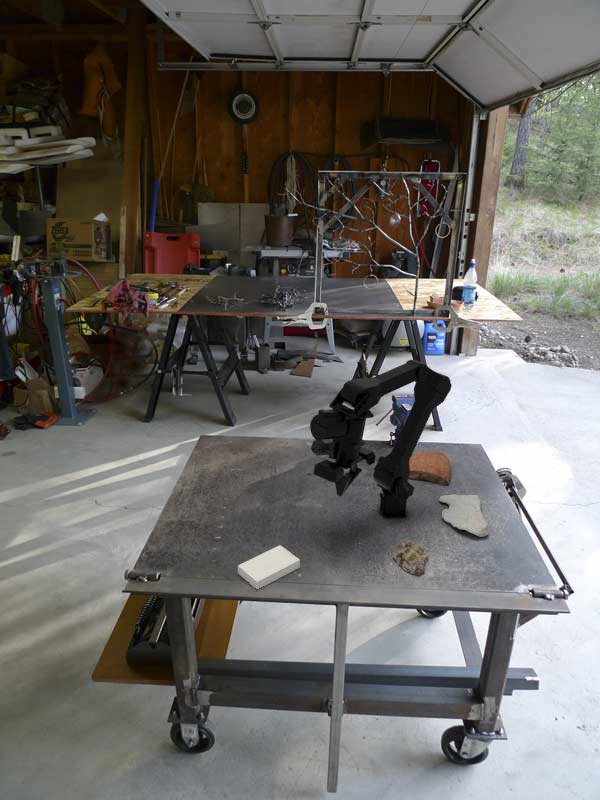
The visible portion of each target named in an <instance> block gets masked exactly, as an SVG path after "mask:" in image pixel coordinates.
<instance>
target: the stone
mask: <svg viewBox="0 0 600 800" xmlns="http://www.w3.org/2000/svg"><path fill="white" fill-rule="evenodd" d="M438 502H441V503H445V504H447V505H448V508H445V509H443V510H442V511H441V512H442V513H441V519H442V520H443V521H444V522H446V523H448V524H451V525H452V527H453V528H457V529H458V530H464V531H467V532H468V533H471V534H473V535H475V536H477V537H479V538H480V537H486V536H488V535H489V531H488V529H489V526H488V525H489V524H488V521H487V520H486V519H485V517H484V514H483V511H482V504H483V503H482V501H481V500H480V498H479V496H478V495H477V494H461V495H460V494H456V493H455V494H453V493H452V494H448V495H441V496H440V497H439V498H438Z"/></svg>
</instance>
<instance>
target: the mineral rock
mask: <svg viewBox="0 0 600 800" xmlns="http://www.w3.org/2000/svg"><path fill="white" fill-rule="evenodd" d="M392 559H394V561H395V562H396V564H397V565H398V566H399V567H400V568H401V569H402V570H403V571H404V572H406V573H407V572H408V573H410V574H411V575H416V574H417V575H416V576H418V577H419V576H420V575H421V574H423V573H424V572H425V571H426V569H425V563H427V562H428V560H429V557H428V555H427V554H426V553H425V550H424V548H422V547H421V546H419V545H417V544H416V543H415V542H414V541H412V540H409V539H408V540H406V541H405V542H402V543H400V544H399V545H398V547H396V548H395V551H393V553H392Z"/></svg>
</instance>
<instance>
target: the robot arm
mask: <svg viewBox="0 0 600 800" xmlns="http://www.w3.org/2000/svg"><path fill="white" fill-rule="evenodd" d="M451 381H452V380H451V378H450V377H449V376H447V375H445V374H443V373H440V372H437V371H435V370H433V369H432V368H430V367H429V366H428V365H427V364H426V363H424V362H421V361H418V360H416V359H409V360H407V361H406V362H405V363H403V364H401V365H399V366H397V367H393V368H392V369H389V370H386V371H385V372H382V373H381V374H378V375H376V376H373V377H367V378H366V377H361V378H354V379H350V380H348V381H346V382H345V383H343V386H342V388H340V390H339V392H337V394H336V396H335V397H334V398H333V400H332V401H330V402H331V403H330V404H329V406H328V407H329V408H330V409H319V410H318V413H317V414H316V415H314V416H313V417H312V419H311V420H310V423H309V427H310V429H309V430H310V434H311V436H312V437H313V438H314V440H313V441H312V444H311V447H310V450H311V452H312V454H314V455H315V456H318V457H320V456H328V459H331V460H334V461H330V460H328V459H324V460H321V461H319V462H318V463H315V464H313V471H312V474H313V475H314V476H317V477H319V478H322V479H323V480H325V481H329V482H330V483H335V484H334V486H335V490H336V495H337V496H338V497H343V496H344V494H345V493H346V492H347V490H348V489H349V487H350V486H351V485H352V483H353V482H354V481H356V478H357V477H358V476H359V475H360V473H362V471H363V469H362V468H360V467H358V463H361V462H363V461H364V460H365V463H366V466H372V465H374V464H375V461H376V457H377V456H376V455H375V453H374V451H373V450H370V449H367V448H365V447H363V446H365V445H366V440H363V438H364V437H363V436H364V434H365V433H364V432H365V426H366V421H367V419H373V418H374V416H375V414H373V412H372V411H371V410H370V409H373V408H374V407H375V406H376V405H378V404H379V403H380V401H381V398H382V397H384V396H386V395H388V394H390V393H393V392H395V391H396V390H399V389H401V388H403V387H406V386H407V385H410V384H411V383H414V382H415V385H414V386H413V398H414V399H413V400H414V402H413V404H412V406H411V409H410V410H409V412H408V415H407V418H406V420H405V421H404V424H403V425H402V428H401V430H400V432H399V434H398V436H397V439H396V441H395V444H394V445H393V447H392V450H391V451H390V453H388V454H387V455H385V456H383V455H381V456H379V458H378V460H377V463H376V465H375V467H373V470H374V471H373V476H372V477H373V479H374V482H375V483H376V486H377V487H379V488H380V493H378V500H377V507H378V512H380V513H381V517H382V518H383V519H384V518H385V519H388V518H407V517H408V513H407V511H406V510H407V504H408V503H407V501H408V500H409V497H411V496H413V494H414V492H415V487H414V485H413V484H411V483H410V482H409V479H408V478H409V475H410V466H409V460H410V458H411V456H412V454H414V451H415V449H416V447H417V445H418V443H419V440H420V438H421V436H422V433H423V432H424V429H425V428H426V425H427V423H428V421H429V419H430V417H431V415H432V412H433V410H434V409H436V408H437V407H439V406H441V404H443V403H444V402H445V400H446V399H447V397H448V395H449V394H450V392H451V390H452V383H451ZM344 404H345V405H344ZM350 407H351V408H350ZM352 408H353V409H352Z"/></svg>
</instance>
